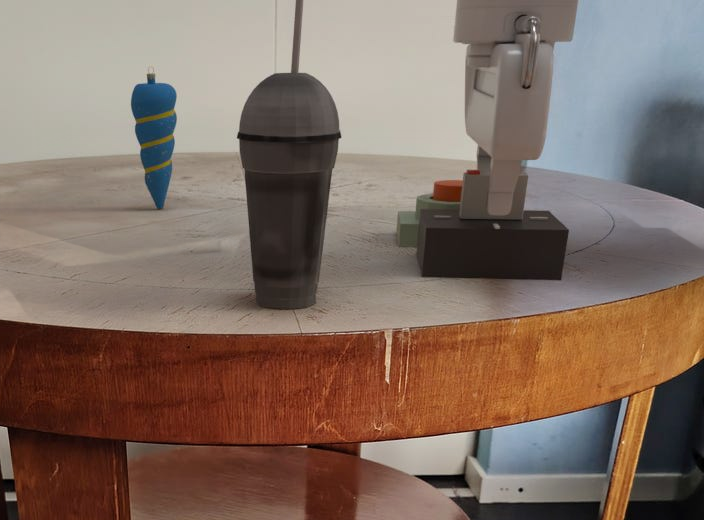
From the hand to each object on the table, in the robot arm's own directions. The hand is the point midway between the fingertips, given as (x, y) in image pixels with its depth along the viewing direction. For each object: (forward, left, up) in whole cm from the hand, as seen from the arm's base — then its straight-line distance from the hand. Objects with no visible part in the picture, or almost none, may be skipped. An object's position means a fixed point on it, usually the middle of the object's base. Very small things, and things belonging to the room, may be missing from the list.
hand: (491, 206), depth 75 cm
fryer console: (0, 0, -5) cm, 5 cm away
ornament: (+34, -27, -5) cm, 44 cm away
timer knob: (0, 0, -1) cm, 1 cm away
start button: (+2, -11, -1) cm, 11 cm away
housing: (+2, -11, -5) cm, 12 cm away
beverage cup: (+16, +13, -5) cm, 21 cm away
